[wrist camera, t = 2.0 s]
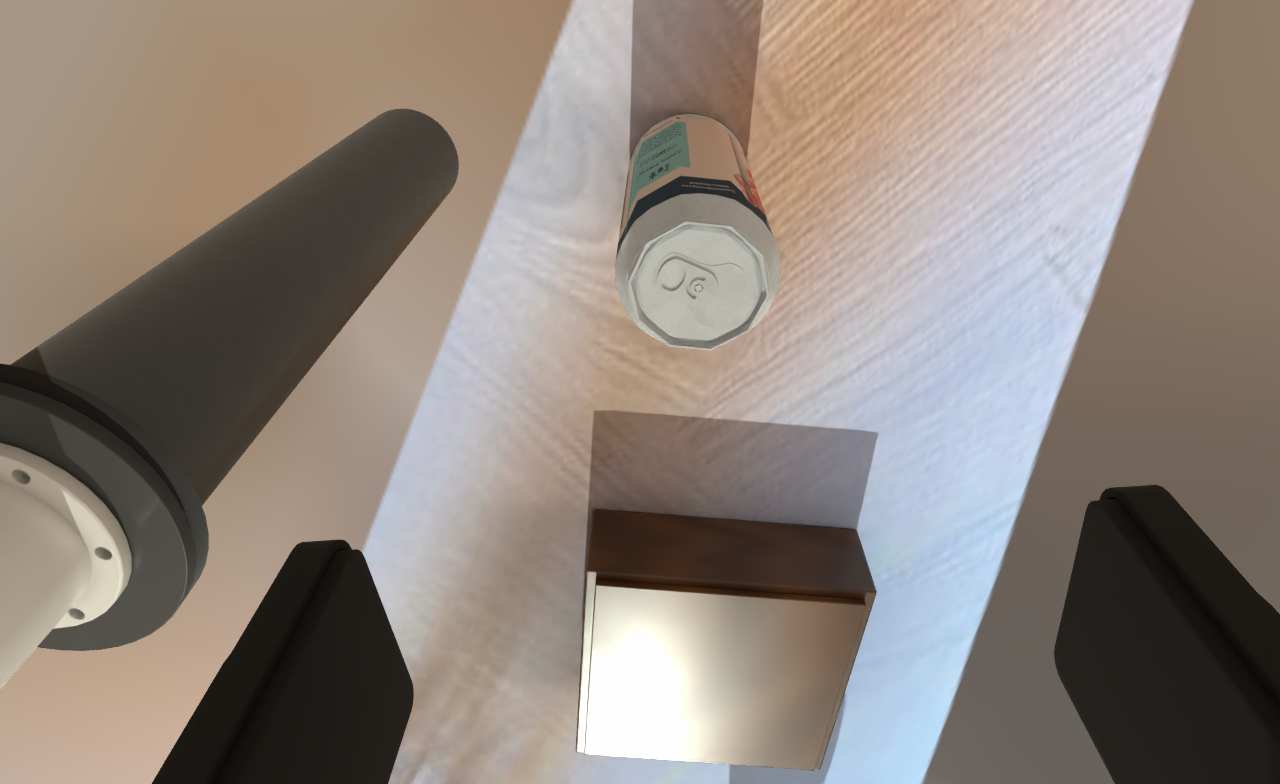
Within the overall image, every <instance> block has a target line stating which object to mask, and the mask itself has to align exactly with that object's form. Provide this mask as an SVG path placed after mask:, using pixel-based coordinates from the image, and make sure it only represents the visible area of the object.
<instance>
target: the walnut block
mask: <svg viewBox="0 0 1280 784" xmlns="http://www.w3.org/2000/svg"><path fill="white" fill-rule="evenodd" d="M876 593H877V592H876V589H875V586H874V582H873V579H872V576H871V573H870V570H869V567H868V564H867V561H866V557H865V554H864V551H863V548H862V545H861V542H860V539H859V536H858V532H857V530H854V529H841V528H828V527H815V526H802V525H789V524H776V523H763V522H750V521H737V520H724V519H711V518H698V517H685V516H672V515H659V514H646V513H633V512H620V511H607V510H594V511H593V517H592V525H591V534H590V542H589V551H588V559H587V568H586V582H585V599H584V616H583V633H582V651H581V668H580V685H579V702H578V720H577V737H576V752H580V753H584V754H589V755H603V756H618V757H632V758H646V759H660V760H674V761H688V762H702V763H716V764H730V765H744V766H758V767H772V768H786V769H800V770H815V769H820V768H821V765H822V762H823V759H824V756H825V752H826V749H827V746H828V743H829V740H830V737H831V734H832V731H833V727H834V724H835V721H836V718H837V715H838V712H839V709H840V706H841V702H842V699H843V696H844V693H845V690H846V687H847V684H848V681H849V677H850V674H851V671H852V668H853V665H854V662H855V659H856V655H857V652H858V649H859V646H860V643H861V640H862V637H863V634H864V630H865V627H866V624H867V621H868V618H869V615H870V612H871V609H872V605H873V602H874V599H875V596H876Z"/></svg>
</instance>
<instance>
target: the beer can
mask: <svg viewBox="0 0 1280 784" xmlns="http://www.w3.org/2000/svg"><path fill="white" fill-rule="evenodd" d="M780 273H781V264H780V259H779V254H778V249H777V245H776V242H775V240H774V237H773V235H772V232H771V229H770V226H769V223H768V221H767V218H766V215H765V212H764V209H763V206H762V203H761V201H760V198H759V195H758V192H757V189H756V186H755V184H754V181H753V178H752V175H751V172H750V169H749V167H748V164H747V161H746V158H745V155H744V152H743V149H742V147H741V145H740V143H739V142H738V140H737V139H736V137H735V136H734V135H733V133H732V132H731V131H729V130H728V129H727V128H726V127H725V126H724V125H723V124H721V123H719V122H717V121H716V120H714V119H711V118H709V117H706V116H701V115H694V114H685V115H676V116H673V117H669V118H667V119H665V120H663V121H661V122H659V123H657V124H656V125H654V126H653V127H652V128H650V129H649V130H648V131H647V132H646V133H645V134H644V135H643V136H642V137H641V139H640V141H639V142H638V144H637V146H636V148H635V150H634V152H633V155H632V158H631V161H630V165H629V170H628V177H627V184H626V191H625V198H624V206H623V213H622V220H621V227H620V234H619V242H618V249H617V256H616V263H615V275H616V276H615V281H616V287H617V290H618V293H619V297H620V300H621V303H622V305H623V306H624V308H625V310H626V312H627V313H628V315H629V317H630V318H631V319H632V320H633V321H634V322H635V323H636V324H637V325H638V326H639V327H640V328H641V329H642V330H643V331H644V332H645V333H647V334H648V335H650V336H652V337H654V338H656V339H657V340H659V341H661V342H663V343H665V344H667V345H668V346H670V347H680V348H690V349H700V350H710V351H711V350H713V349H715V348H717V347H719V346H721V345H724V344H726V343H728V342H730V341H732V340H734V339H736V338H738V337H740V336H742V335H743V334H745V333H747V332H749V330H751V329H752V328H753V327H755V326H756V325H757V324H758V323H759V322H760V321H761V319H762V318H763V317H764V315H765V314H766V313H767V311H768V310H769V308H770V307H771V304H772V302H773V300H774V297H775V295H776V293H777V290H778V285H779V279H780Z"/></svg>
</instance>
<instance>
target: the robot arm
mask: <svg viewBox="0 0 1280 784" xmlns="http://www.w3.org/2000/svg"><path fill="white" fill-rule="evenodd" d="M131 572H132V555H131V552H130V548H129V544H128V541H127V538H126V536H125V534H124V532H123V530H122V528H121V526H120V524H119V522H118V521H117V519H116V518H115V517H114V515H113V514H112V513H111V511H110V510H109V509H108V507H107V506H106V505H105V504H104V503H103V502H102V501H101V500H100V499H99V498H98V497H97V496H96V495H95V494H94V493H93V492H92V491H91V490H90V489H89V488H88V487H87V486H86V485H84V484H83V483H82V482H80V481H79V480H78V479H76V478H75V477H73V476H72V475H71V474H69V473H68V472H67V471H65V470H63V469H61V468H60V467H58V466H56V465H54V464H53V463H51V462H49V461H47V460H46V459H44V458H42V457H39V456H37V455H35V454H32V453H30V452H27V451H25V450H23V449H20V448H17V447H14V446H10V445H7V444H3V443H0V689H1V688H2V687H3V686H4V685H5V684H6V682H7V681H8V680H9V679H10V678H11V677H12V675H13V674H14V673H15V672H16V671H17V670H18V668H19V667H20V666H21V665H22V664H23V663H24V661H25V660H26V659H27V658H28V657H29V656H30V655H31V653H32V652H33V651H34V650H35V649H36V648H37V647H38V645H39V644H40V643H41V642H42V641H43V640H44V638H45V637H46V636H47V635H48V634H49V633H50V631H51V630H52V629H56V628H64V627H71V626H77V625H80V624H83V623H86V622H89V621H92V620H93V619H95V618H97V617H98V616H100V615H102V614H103V613H105V612H106V611H107V610H108V609H109V608H110V607H111V606H112V605H113V604H114V603H115V602H116V600H117V599H118V598H119V597H120V595H121V594H122V592H123V591H124V589H125V588H126V586H127V585H128V582H129V578H130V575H131ZM1054 655H1055V656H1054V657H1055V664H1056V668H1057V671H1058V675H1059V677H1060V679H1061V681H1062V683H1063V685H1064V687H1065V689H1066V690H1067V693H1068V695H1069V697H1070V698H1071V700H1072V702H1073V704H1074V706H1075V708H1076V710H1077V712H1078V714H1079V716H1080V718H1081V720H1082V722H1083V723H1084V725H1085V727H1086V729H1087V731H1088V733H1089V735H1090V737H1091V739H1092V741H1093V743H1094V745H1095V746H1096V748H1097V750H1098V752H1099V754H1100V756H1101V758H1102V760H1103V762H1104V763H1105V766H1106V768H1107V769H1108V771H1109V773H1110V775H1111V777H1112V779H1113V781H1114V783H1115V784H1280V614H1279V613H1278V612H1277V611H1276V610H1275V609H1274V608H1273V606H1272V605H1270V604H1269V603H1268V602H1267V601H1266V600H1265V599H1264V598H1263V597H1261V596H1260V595H1259V594H1258V593H1257V592H1256V591H1255V590H1254V588H1253V587H1252V586H1251V585H1250V584H1249V583H1248V582H1247V581H1246V579H1245V578H1244V577H1243V576H1242V575H1241V574H1240V573H1239V571H1238V570H1237V569H1236V568H1235V567H1234V566H1233V565H1232V564H1231V562H1230V561H1229V560H1228V559H1227V558H1226V557H1225V556H1224V555H1223V553H1222V552H1221V551H1220V550H1219V549H1218V548H1217V546H1216V545H1215V544H1214V543H1213V542H1212V541H1211V540H1210V539H1209V537H1208V536H1207V535H1206V534H1205V533H1204V532H1203V531H1202V530H1201V528H1200V527H1199V526H1198V525H1197V524H1196V523H1195V522H1194V520H1193V519H1192V518H1191V517H1190V516H1189V515H1188V514H1187V512H1186V511H1185V510H1184V509H1183V508H1182V507H1181V506H1180V505H1179V504H1178V502H1177V501H1176V500H1175V499H1174V498H1173V497H1172V495H1171V494H1170V493H1169V492H1168V491H1167V490H1165V489H1164V488H1163V487H1161V486H1158V485H1148V486H1147V485H1146V486H1131V487H1116V488H1109V489H1106V490H1105V491H1104V492H1103V493H1102V495H1101V497H1100V500H1099V501H1092V502H1090V503H1089V504H1088V507H1087V509H1086V513H1085V517H1084V522H1083V526H1082V530H1081V535H1080V539H1079V544H1078V548H1077V552H1076V557H1075V561H1074V565H1073V570H1072V574H1071V578H1070V583H1069V587H1068V592H1067V596H1066V600H1065V605H1064V609H1063V613H1062V618H1061V622H1060V626H1059V631H1058V635H1057V640H1056V644H1055V650H1054ZM412 706H413V684H412V680H411V678H410V675H409V672H408V670H407V667H406V665H405V662H404V659H403V657H402V654H401V651H400V649H399V646H398V644H397V641H396V638H395V636H394V633H393V631H392V628H391V625H390V623H389V620H388V618H387V615H386V612H385V610H384V607H383V605H382V602H381V599H380V597H379V594H378V592H377V589H376V586H375V584H374V581H373V578H372V576H371V573H370V571H369V568H368V565H367V563H366V560H365V558H364V556H363V554H362V552H361V551H359V550H352V549H351V547H350V545H349V544H348V543H347V542H346V541H345V540H329V541H313V542H301V543H299V544H297V545H296V546H295V547H294V549H293V550H292V552H291V553H290V555H289V557H288V558H287V560H286V562H285V563H284V565H283V567H282V568H281V570H280V572H279V573H278V575H277V577H276V578H275V580H274V582H273V584H272V585H271V587H270V589H269V590H268V592H267V594H266V595H265V597H264V599H263V600H262V602H261V604H260V605H259V607H258V609H257V610H256V612H255V614H254V616H253V617H252V619H251V621H250V622H249V624H248V626H247V627H246V629H245V631H244V633H243V634H242V636H241V637H240V639H239V641H238V643H237V644H236V646H235V648H234V649H233V651H232V653H231V654H230V655H229V657H228V658H227V659H226V661H225V662H224V663H223V665H222V667H221V668H220V670H219V672H218V673H217V675H216V677H215V678H214V680H213V682H212V683H211V685H210V687H209V688H208V690H207V692H206V693H205V695H204V697H203V698H202V700H201V702H200V704H199V705H198V707H197V708H196V710H195V712H194V713H193V715H192V717H191V719H190V720H189V722H188V724H187V726H186V727H185V729H184V730H183V732H182V734H181V736H180V737H179V739H178V740H177V742H176V744H175V745H174V747H173V749H172V750H171V752H170V754H169V755H168V757H167V759H166V760H165V762H164V764H163V766H162V768H161V769H160V771H159V772H158V774H157V776H156V777H155V779H154V781H153V782H152V784H388V782H389V779H390V775H391V772H392V769H393V766H394V763H395V760H396V757H397V754H398V751H399V747H400V744H401V741H402V738H403V735H404V732H405V729H406V726H407V723H408V720H409V716H410V713H411V710H412Z"/></svg>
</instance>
